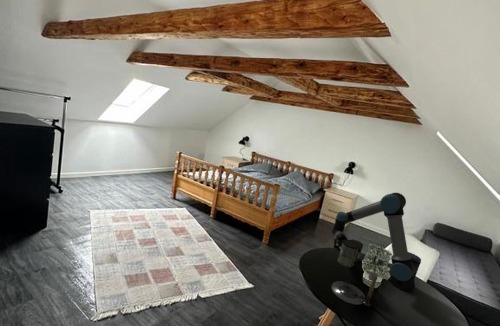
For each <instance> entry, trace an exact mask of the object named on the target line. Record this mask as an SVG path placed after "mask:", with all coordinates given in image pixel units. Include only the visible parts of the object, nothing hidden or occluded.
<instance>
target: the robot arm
mask: <svg viewBox="0 0 500 326" xmlns="http://www.w3.org/2000/svg"><path fill="white" fill-rule="evenodd" d="M406 204H407V199H406V197H405V196H404V195H403V194H402V193H400V192H392V193H388V194H386V195H384V196H382V198H381V199H380V200H379V201H376V202H374V203H370V204H367V205H366V206H365V205H364V206H362V207H359V208H356V209H354V210H350V211H348V212H344V211H338V212H337V214H336V217H335V220H334V224H333V226H332V227H331V229H330V231H331V234H332V236H333V237H334V239H333V249H336V251H337V252H338V253H340V254H341V255H343V250H342V248H341V246H342V242H343V240H345V239H347V240H349V239H348V237H347V236H346V234H345V232H344V231H345V227H346V225H347V224H349V223H352V222H355V221H359V220H361V219H364V218H367V217H371V216H373V215H376V214H379V213H383V216H384V217H386V219H387V225H388V232H389V237H390V242H391V244H390V245H391V248H392V249H391V250H392V256H391V258H390V259H391V264H392V265H391V266H390V273H391V275H390V278H389V281H390V283H391V284H392V285H393V286H394V287H396V288H398V289H399V290H402V291H404V292H408V293H412V292H414V290H415V287H416V282H415V281H416V277H417V273H418V271H419V268H420V265H421V264H422V258H421V257H420V256H418V255H417V254H415V253H412V252H409V251H408V245H407V240H406V235H405V234H406V233H405V228H404V221H403V216H404V215H405V212H404V208H405V206H406ZM359 253H360V249H359V248H358V251H357V254H356V257H357V258H358V259H360V257H359V256H361V254H359Z"/></svg>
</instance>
